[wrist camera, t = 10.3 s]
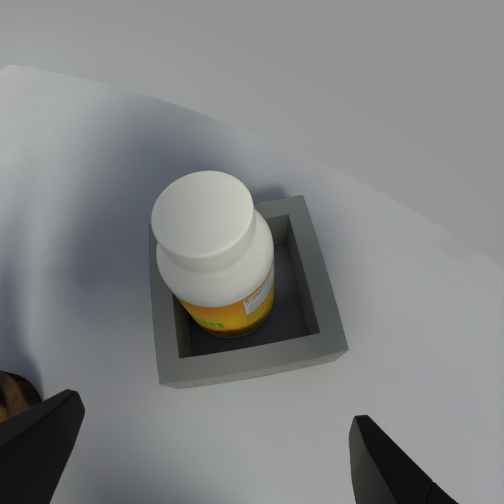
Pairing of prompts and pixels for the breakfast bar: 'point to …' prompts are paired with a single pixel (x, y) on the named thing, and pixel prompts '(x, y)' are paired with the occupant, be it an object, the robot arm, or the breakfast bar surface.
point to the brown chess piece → (15, 395)
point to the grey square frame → (264, 356)
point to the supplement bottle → (215, 252)
